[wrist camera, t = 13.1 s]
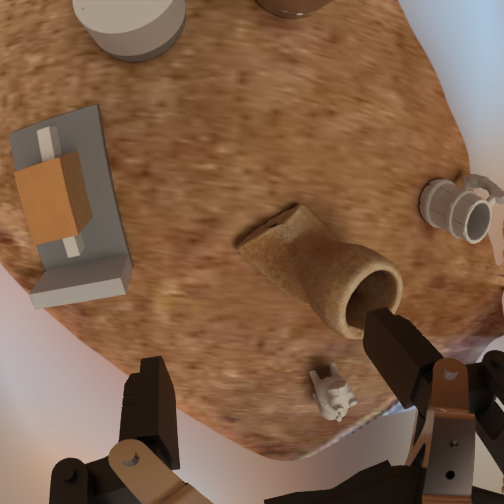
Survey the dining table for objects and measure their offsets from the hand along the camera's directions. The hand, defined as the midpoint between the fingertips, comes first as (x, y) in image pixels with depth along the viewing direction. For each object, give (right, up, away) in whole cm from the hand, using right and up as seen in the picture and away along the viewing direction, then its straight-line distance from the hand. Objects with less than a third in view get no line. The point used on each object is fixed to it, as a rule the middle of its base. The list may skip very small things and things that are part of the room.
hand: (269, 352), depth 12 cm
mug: (+29, +13, +32) cm, 45 cm away
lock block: (-22, +11, +21) cm, 32 cm away
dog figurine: (+12, -18, +43) cm, 48 cm away
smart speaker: (-13, +28, +16) cm, 35 cm away
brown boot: (+6, +4, +31) cm, 32 cm away
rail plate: (-22, +10, +22) cm, 33 cm away
